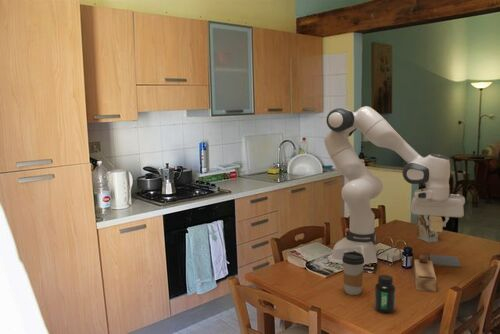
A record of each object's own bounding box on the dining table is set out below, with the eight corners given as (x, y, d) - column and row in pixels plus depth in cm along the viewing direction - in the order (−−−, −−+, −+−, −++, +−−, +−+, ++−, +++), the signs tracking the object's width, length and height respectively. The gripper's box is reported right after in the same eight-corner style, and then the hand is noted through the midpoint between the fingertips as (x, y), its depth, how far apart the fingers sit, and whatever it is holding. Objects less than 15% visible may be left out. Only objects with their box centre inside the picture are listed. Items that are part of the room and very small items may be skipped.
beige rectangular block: (430, 231, 173) (430, 221, 173) (429, 224, 181) (429, 215, 181) (442, 232, 172) (442, 222, 171) (440, 225, 180) (441, 216, 179)
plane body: (416, 289, 165) (417, 270, 164) (413, 270, 184) (414, 252, 183) (435, 292, 163) (436, 272, 162) (431, 271, 182) (432, 254, 180)
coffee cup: (347, 285, 171) (348, 249, 168) (367, 290, 166) (368, 254, 163) (338, 292, 164) (338, 256, 162) (358, 298, 159) (358, 260, 157)
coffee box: (438, 241, 219) (439, 211, 216) (428, 243, 217) (429, 212, 215) (426, 236, 228) (427, 207, 225) (416, 237, 226) (417, 208, 223)
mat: (431, 265, 189) (431, 263, 189) (428, 255, 200) (428, 254, 200) (460, 267, 185) (460, 266, 185) (456, 257, 196) (456, 256, 196)
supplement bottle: (386, 315, 146) (387, 283, 144) (370, 308, 152) (371, 276, 150) (398, 309, 150) (399, 277, 148) (382, 302, 156) (383, 271, 154)
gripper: (464, 193, 174) (462, 225, 176) (411, 190, 181) (410, 221, 183) (466, 196, 168) (464, 230, 170) (411, 193, 175) (410, 226, 177)
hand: (435, 225), depth 176 cm, fingers closed on beige rectangular block, 4 cm apart
